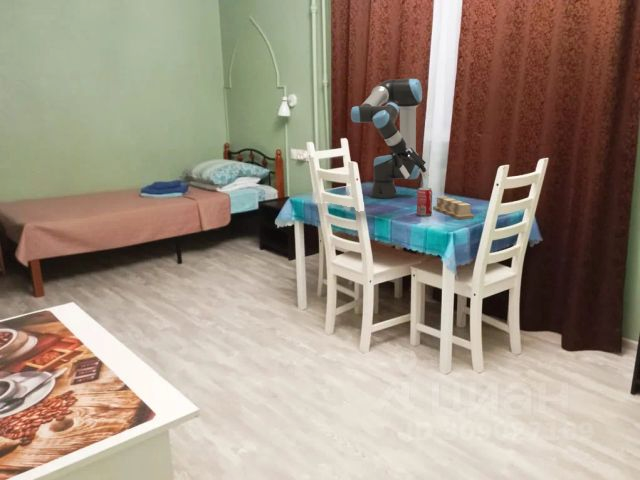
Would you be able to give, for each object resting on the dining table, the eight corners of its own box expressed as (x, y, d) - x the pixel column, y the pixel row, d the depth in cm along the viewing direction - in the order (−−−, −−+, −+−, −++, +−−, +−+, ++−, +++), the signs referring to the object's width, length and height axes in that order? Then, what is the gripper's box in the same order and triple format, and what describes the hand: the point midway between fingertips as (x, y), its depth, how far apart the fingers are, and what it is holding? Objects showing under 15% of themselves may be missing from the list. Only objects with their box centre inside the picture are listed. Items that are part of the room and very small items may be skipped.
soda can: (431, 216, 246) (433, 190, 243) (416, 216, 248) (417, 189, 244) (431, 213, 253) (432, 187, 250) (416, 213, 254) (417, 187, 251)
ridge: (432, 209, 262) (433, 196, 260) (446, 208, 264) (447, 195, 262) (459, 219, 240) (459, 206, 238) (473, 218, 242) (474, 204, 240)
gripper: (374, 148, 247) (395, 182, 256) (408, 145, 226) (430, 182, 235) (383, 138, 250) (405, 172, 258) (418, 134, 228) (440, 171, 237)
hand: (417, 177), depth 247 cm, fingers open, 13 cm apart
